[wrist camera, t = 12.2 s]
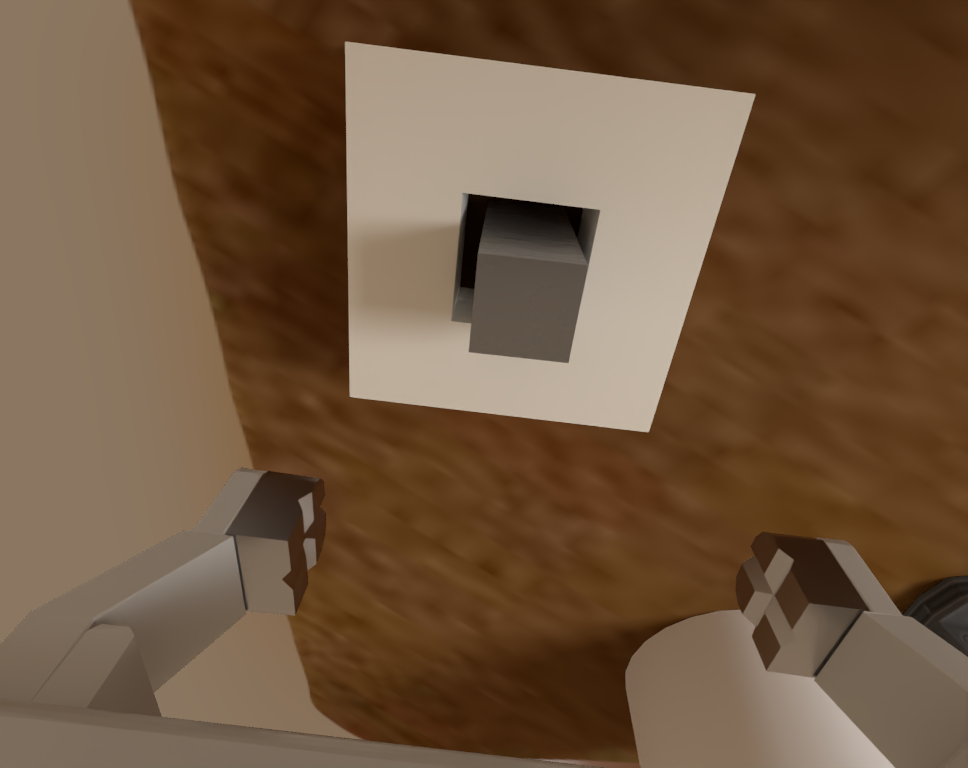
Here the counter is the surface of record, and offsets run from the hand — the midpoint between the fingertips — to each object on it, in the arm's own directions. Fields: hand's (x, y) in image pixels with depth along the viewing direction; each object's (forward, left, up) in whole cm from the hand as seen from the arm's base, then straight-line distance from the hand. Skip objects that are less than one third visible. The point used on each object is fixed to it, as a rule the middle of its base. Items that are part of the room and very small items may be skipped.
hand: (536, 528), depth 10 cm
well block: (0, 0, -22) cm, 22 cm away
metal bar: (0, 0, -22) cm, 22 cm away
